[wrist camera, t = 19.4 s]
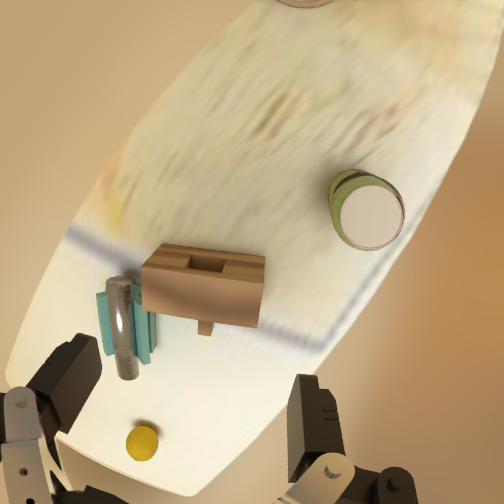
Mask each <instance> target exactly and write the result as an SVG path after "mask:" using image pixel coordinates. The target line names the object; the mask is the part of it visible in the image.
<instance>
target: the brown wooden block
mask: <svg viewBox="0 0 504 504" xmlns="http://www.w3.org/2000/svg"><path fill="white" fill-rule="evenodd" d="M264 263H265V257H261V256H253V255H245V254H238V253H230V252H223V251H215V250H207V249H200V248H192V247H185V246H177V245H170V244H161V246H160V247H159V248H158V249H157V250H156V251H155V252H154V253H153V254H152V255H151V256H150V257H149V258H148V259H147V261H146V262H145V263H144V264H143V265H142V266H141V288H142V310H144V311H149V312H154V313H160V314H166V315H171V316H177V317H183V318H189V319H196V320H198V335H205V336H211V333H212V330H213V322H215V323H222V324H229V325H237V326H244V327H252V328H257V325H258V318H259V312H260V305H261V299H262V292H263V286H264Z"/></svg>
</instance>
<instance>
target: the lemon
mask: <svg viewBox="0 0 504 504" xmlns="http://www.w3.org/2000/svg"><path fill="white" fill-rule="evenodd" d="M157 448H158V437H157V435H156V433H155V432H154V431H153V430H152V429H151V428H150V427H148V426H138V427H135V428H134V429H133V430H131V432H130V433H129V435H128V437H127V440H126V449H127V452H128V454H129V455H130V456H131V457H132V458H133V459H134V460H136V461H146V460H149V459H151V458H152V457H153V456H154V454H155V453H156V451H157Z"/></svg>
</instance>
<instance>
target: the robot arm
mask: <svg viewBox="0 0 504 504" xmlns="http://www.w3.org/2000/svg"><path fill="white" fill-rule="evenodd" d="M278 1H280V2H282V3H285V4H287V5H291V6H295V7H304V8H310V7H317V6H321V5H324V4H326V3H329V2H330V1H332V0H278ZM101 372H102V363H101V358H100V353H99V348H98V343H97V339H96V338H95V337H93V336H89V335H86V334H82V333H77V334H76V335H75V337H74V338H73V339H72V340H71V342H67V341H66V342H65V343H63V344H61V345H60V346H58V347H56V349H55V350H54V351H53V352H52V354H51V355H50V357H48V359H47V360H46V361H45V364H43V365H42V366H41V367H40V369H39V370H38V371H37V372H36V374H35V375H34V376H33V378H32V379H31V380H30V381H29V383H28V384H27V385H26V386H25V387H22V386H21V387H15V388H13V389H11V390H10V391H8V392H7V393H0V462H1V460H2V462H3V469H4V476H5V482H6V487H7V493H8V498H9V503H10V504H129V503H127V502H125V501H123V500H122V499H120V498H118V497H117V496H115V495H112V494H110V493H107V492H104V491H101V490H98V489H96V488H93V487H91V486H88V485H86V488H85V490H84V491H79V490H73V489H72V487H71V485H70V483H69V481H68V479H67V476H66V473H65V470H64V466H63V463H62V459H61V455H60V451H59V447H58V443H57V439H56V437H55V435H56V433H57V432H58V430H59V431H61V432H63V433H66V434H68V433H69V431H70V429H71V427H72V425H73V423H74V422H75V420H76V418H77V416H78V415H79V413H80V411H81V409H82V407H83V406H84V404H85V402H86V401H87V399H88V397H89V395H90V394H91V392H92V390H93V388H94V387H95V385H96V383H97V382H98V380H99V378H100V376H101ZM287 438H288V483H295V484H294V485H293V486H292V487H291V488H290V489H289V490H288V491H287V492H286V493H285V494H284V495H283V496H282V497H281V498H278V499H277V500H276V501H275V502H273V503H272V504H418V499H417V494H416V489H415V484H414V480H413V477H412V476H411V474H410V473H409V472H408V471H406V470H405V469H403V468H400V467H389V468H387V469H385V470H383V471H382V472H381V473H378V472H373V471H368V470H364V469H361V468H358V467H356V466H355V465H353V463H352V462H351V461H350V459H349V458H347V457H346V454H345V451H344V446H343V439H342V433H341V428H340V422H339V416H338V412H337V405H336V400H335V398H334V397H333V395H332V394H331V392H330V391H329V390H328V389H319V384H318V378H317V376H316V375H306V374H297V375H296V378H295V381H294V384H293V388H292V391H291V394H290V397H289V401H288V406H287Z"/></svg>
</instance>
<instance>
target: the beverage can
mask: <svg viewBox="0 0 504 504" xmlns="http://www.w3.org/2000/svg"><path fill="white" fill-rule="evenodd" d="M328 200H329V205H330V210H331V215H332V221H333V225H334V227H335V230H336V232H337V233H338V235H339V236H340V238H341V239H342V240H343V241H344V242H345V243H347V244H348V245H350V246H351V247H353V248H356V249H359V250H364V251H373V250H378V249H381V248H384V247H385V246H387V245H389V244H390V243H391V242H393V241H394V240H395V238H396V237H397V236H398V235H399V233H400V231H401V229H402V227H403V224H404V219H405V208H404V203H403V200H402V198H401V196H400V194H399V192H398V191H397V190H396V188H395V187H394V186H393V185H392V184H391V183H389V182H388V181H386V180H384V179H382V178H380V177H377V176H375V175H373V174H371V173H368V172H366V171H363V170H357V169H353V170H348V171H345V172H343V173H341V174H340V175H338V176H337V177H336V178H335V179H334V181H333V182H332V184H331V186H330V189H329V194H328Z"/></svg>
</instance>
